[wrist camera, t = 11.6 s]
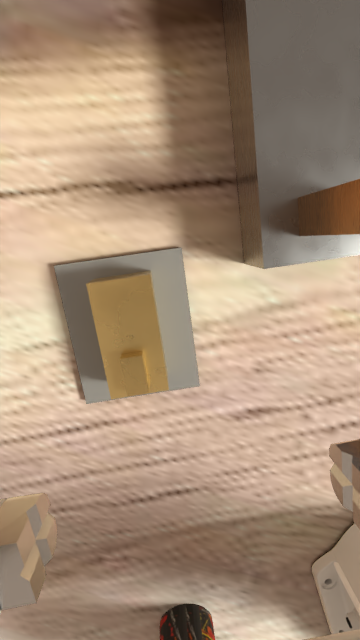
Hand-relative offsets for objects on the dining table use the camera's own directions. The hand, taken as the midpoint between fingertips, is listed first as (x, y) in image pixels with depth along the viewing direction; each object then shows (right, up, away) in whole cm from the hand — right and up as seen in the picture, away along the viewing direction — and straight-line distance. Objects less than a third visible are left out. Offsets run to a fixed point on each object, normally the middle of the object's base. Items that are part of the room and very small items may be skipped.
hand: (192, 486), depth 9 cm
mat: (-4, +4, +18) cm, 19 cm away
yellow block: (-4, +4, +17) cm, 18 cm away
